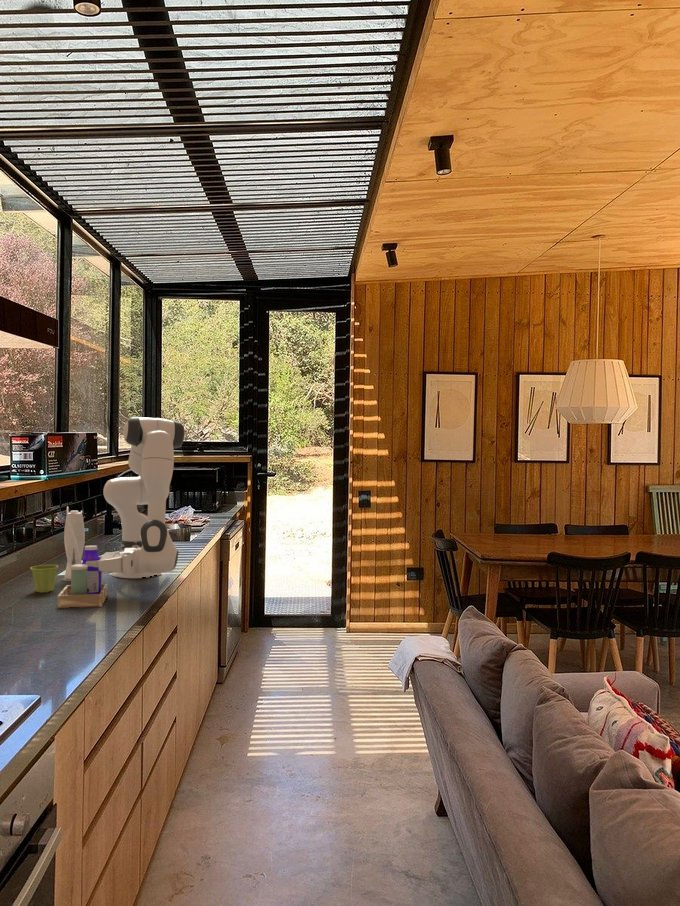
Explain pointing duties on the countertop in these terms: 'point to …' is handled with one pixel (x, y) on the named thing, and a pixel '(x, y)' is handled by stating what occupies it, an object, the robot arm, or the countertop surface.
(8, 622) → the countertop surface
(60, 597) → the crate
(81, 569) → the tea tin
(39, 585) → the plant pot
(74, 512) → the skyscraper
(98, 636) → the countertop surface
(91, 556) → the bottle
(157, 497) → the robot arm
